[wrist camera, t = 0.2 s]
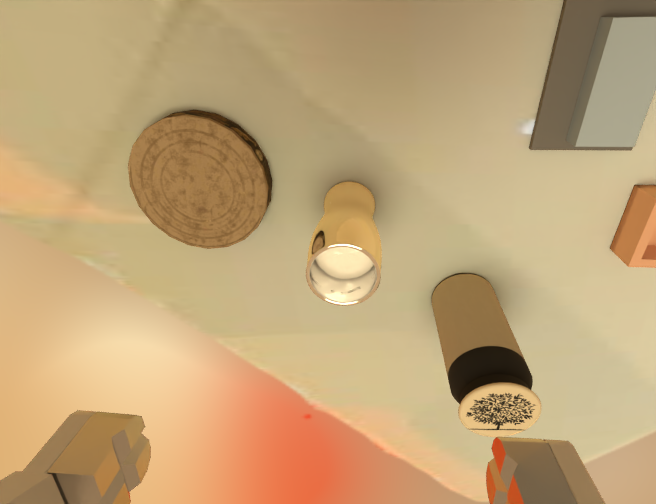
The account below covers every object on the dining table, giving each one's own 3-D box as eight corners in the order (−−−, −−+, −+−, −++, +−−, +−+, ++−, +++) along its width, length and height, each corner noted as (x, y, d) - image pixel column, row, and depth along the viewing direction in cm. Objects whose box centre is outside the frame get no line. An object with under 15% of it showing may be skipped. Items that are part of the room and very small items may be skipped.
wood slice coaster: (125, 107, 45) (110, 114, 42) (267, 110, 44) (261, 116, 41) (157, 234, 53) (146, 246, 51) (277, 239, 52) (272, 251, 49)
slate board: (600, 17, 36) (613, 17, 34) (666, 15, 36) (683, 16, 34) (565, 140, 42) (575, 146, 40) (622, 140, 42) (634, 146, 40)
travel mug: (437, 269, 52) (467, 379, 37) (500, 275, 52) (557, 388, 36) (426, 317, 56) (448, 434, 41) (484, 323, 56) (529, 443, 40)
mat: (612, -203, 30) (616, -207, 29) (759, -212, 29) (766, -216, 29) (529, 148, 43) (531, 149, 43) (628, 148, 42) (631, 150, 42)
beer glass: (378, 175, 46) (382, 240, 33) (379, 230, 50) (383, 307, 37) (317, 178, 47) (299, 242, 34) (322, 231, 51) (307, 308, 38)
